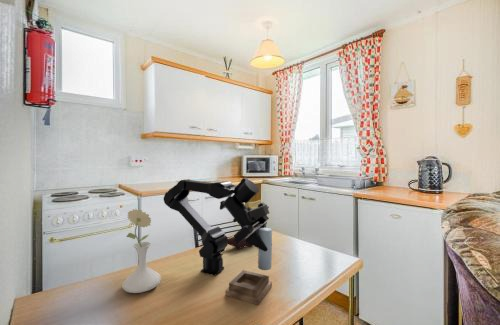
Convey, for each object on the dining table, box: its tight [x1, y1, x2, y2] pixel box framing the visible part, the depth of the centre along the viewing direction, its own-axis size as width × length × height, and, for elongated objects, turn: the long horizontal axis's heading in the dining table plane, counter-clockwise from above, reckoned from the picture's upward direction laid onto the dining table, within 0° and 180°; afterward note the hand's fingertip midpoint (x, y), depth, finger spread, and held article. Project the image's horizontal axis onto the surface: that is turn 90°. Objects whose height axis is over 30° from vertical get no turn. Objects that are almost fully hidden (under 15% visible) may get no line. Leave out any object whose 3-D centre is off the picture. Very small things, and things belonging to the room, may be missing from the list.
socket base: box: [224, 269, 273, 306], centre depth 75 cm, size 11×11×4 cm
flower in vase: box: [121, 208, 162, 294], centre depth 77 cm, size 13×11×25 cm
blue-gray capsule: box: [257, 227, 273, 271], centre depth 78 cm, size 4×4×12 cm
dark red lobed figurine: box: [227, 236, 254, 250], centre depth 109 cm, size 7×7×15 cm
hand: (269, 248), depth 78 cm, fingers closed on blue-gray capsule, 4 cm apart
